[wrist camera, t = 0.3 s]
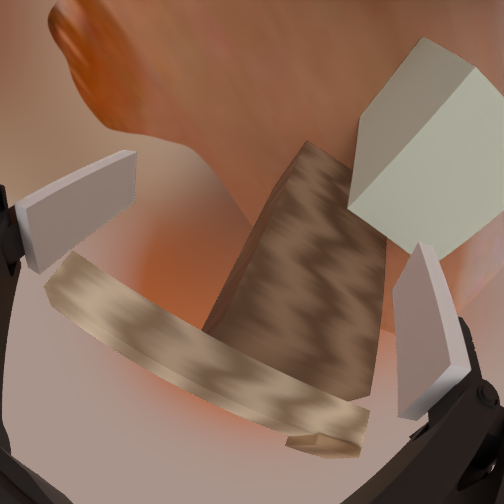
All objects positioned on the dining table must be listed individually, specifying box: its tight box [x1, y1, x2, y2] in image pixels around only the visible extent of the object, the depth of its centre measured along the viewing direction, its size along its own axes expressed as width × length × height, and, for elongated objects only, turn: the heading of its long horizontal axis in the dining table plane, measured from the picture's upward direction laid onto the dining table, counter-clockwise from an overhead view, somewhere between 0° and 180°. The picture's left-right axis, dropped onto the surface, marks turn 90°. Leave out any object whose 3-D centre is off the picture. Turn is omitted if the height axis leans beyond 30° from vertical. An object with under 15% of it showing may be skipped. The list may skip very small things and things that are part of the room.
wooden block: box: [202, 141, 387, 402], centre depth 35 cm, size 14×10×29 cm
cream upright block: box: [347, 37, 504, 261], centre depth 24 cm, size 9×14×20 cm, turn 153°
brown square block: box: [44, 251, 370, 459], centre depth 24 cm, size 30×5×5 cm, turn 63°
